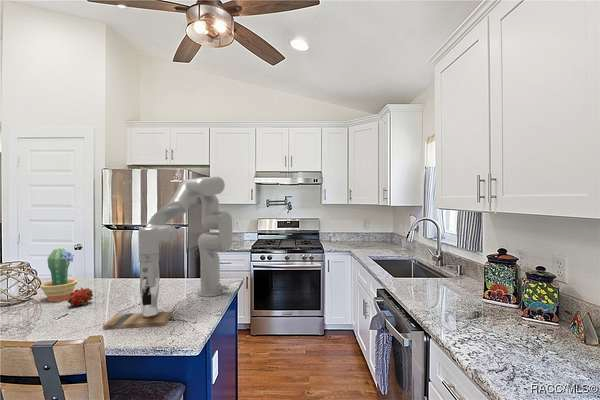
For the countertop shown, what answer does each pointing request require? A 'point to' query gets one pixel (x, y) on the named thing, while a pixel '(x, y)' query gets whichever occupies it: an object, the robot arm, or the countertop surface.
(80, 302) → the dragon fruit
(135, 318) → the oak board
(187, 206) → the robot arm
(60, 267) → the potted cactus
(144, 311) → the beer glass
